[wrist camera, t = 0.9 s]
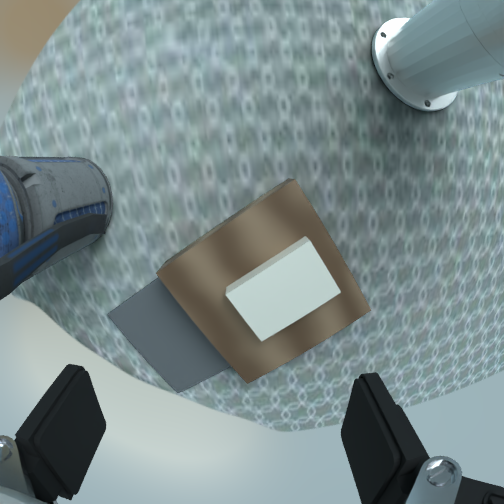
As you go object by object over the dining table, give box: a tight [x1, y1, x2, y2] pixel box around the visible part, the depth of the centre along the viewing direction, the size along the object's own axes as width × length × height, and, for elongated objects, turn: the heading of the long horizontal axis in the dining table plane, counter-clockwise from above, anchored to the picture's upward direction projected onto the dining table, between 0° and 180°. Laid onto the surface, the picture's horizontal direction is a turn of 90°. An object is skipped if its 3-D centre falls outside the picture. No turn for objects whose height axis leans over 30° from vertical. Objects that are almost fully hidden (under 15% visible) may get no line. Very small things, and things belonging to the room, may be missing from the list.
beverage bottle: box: [0, 156, 113, 300], centre depth 19 cm, size 10×13×25 cm
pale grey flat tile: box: [225, 236, 341, 342], centre depth 29 cm, size 9×6×2 cm, turn 124°
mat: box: [108, 278, 231, 393], centre depth 36 cm, size 10×14×1 cm
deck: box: [156, 179, 371, 384], centre depth 32 cm, size 16×16×4 cm
